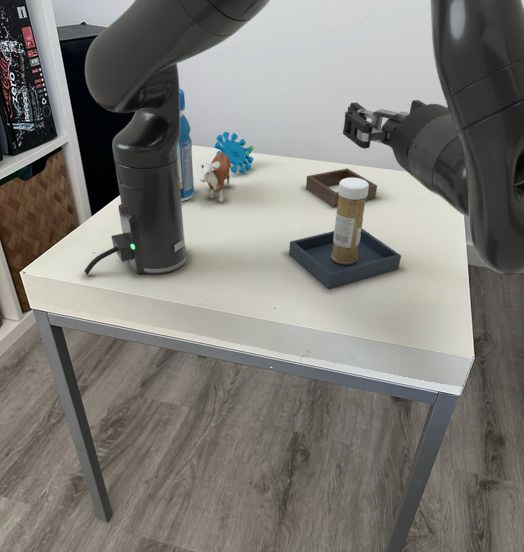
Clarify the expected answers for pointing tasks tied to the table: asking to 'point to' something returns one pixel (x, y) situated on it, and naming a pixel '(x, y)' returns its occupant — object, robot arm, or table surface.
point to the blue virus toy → (235, 152)
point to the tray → (331, 274)
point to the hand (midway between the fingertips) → (382, 109)
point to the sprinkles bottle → (349, 220)
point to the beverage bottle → (185, 155)
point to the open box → (322, 180)
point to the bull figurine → (217, 174)
